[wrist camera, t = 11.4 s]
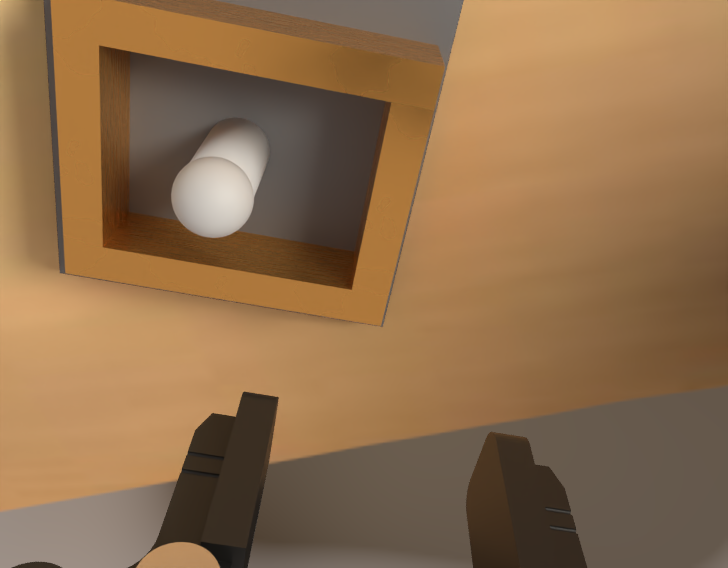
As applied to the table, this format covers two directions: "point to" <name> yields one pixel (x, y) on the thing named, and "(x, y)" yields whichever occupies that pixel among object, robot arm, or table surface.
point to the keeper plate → (287, 114)
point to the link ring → (254, 57)
